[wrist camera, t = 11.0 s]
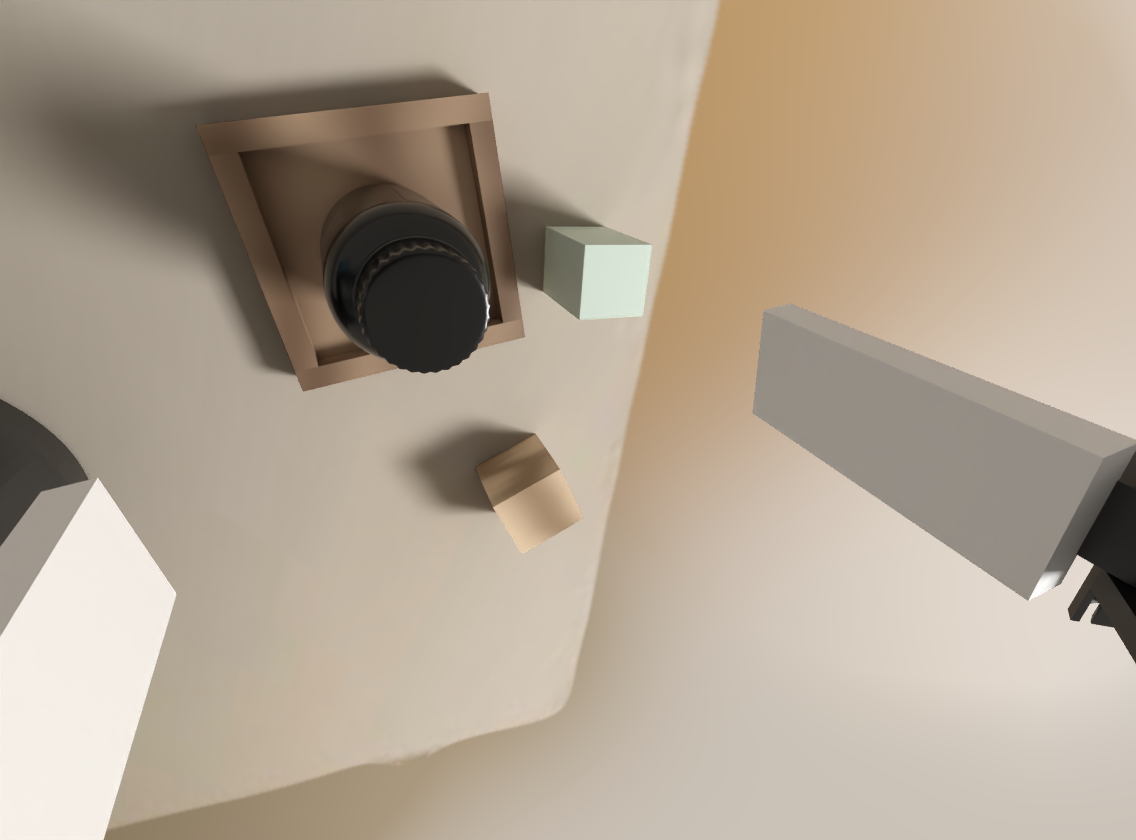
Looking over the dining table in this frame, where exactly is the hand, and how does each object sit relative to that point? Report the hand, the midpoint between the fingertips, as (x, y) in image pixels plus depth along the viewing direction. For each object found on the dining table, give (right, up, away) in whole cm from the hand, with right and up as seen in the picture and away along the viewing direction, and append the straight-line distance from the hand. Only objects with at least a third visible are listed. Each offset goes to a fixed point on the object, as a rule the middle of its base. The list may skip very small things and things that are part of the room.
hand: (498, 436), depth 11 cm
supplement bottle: (-8, +10, +18) cm, 22 cm away
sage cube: (+2, +11, +23) cm, 26 cm away
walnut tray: (-9, +10, +19) cm, 23 cm away
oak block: (-2, -4, +30) cm, 30 cm away
